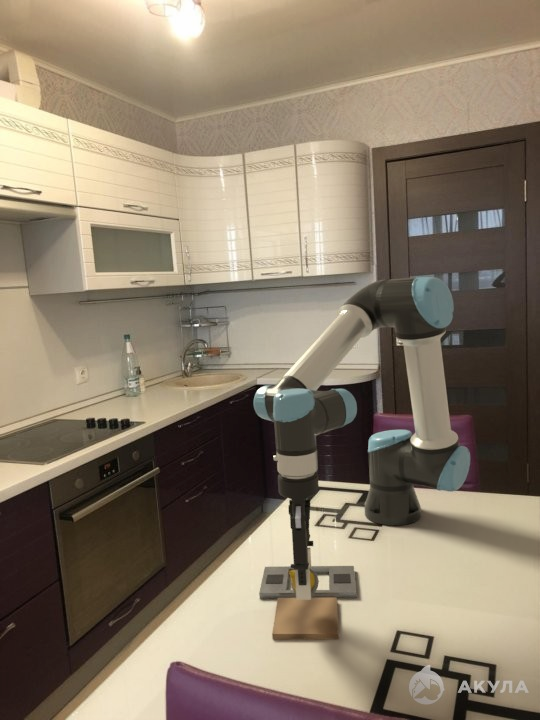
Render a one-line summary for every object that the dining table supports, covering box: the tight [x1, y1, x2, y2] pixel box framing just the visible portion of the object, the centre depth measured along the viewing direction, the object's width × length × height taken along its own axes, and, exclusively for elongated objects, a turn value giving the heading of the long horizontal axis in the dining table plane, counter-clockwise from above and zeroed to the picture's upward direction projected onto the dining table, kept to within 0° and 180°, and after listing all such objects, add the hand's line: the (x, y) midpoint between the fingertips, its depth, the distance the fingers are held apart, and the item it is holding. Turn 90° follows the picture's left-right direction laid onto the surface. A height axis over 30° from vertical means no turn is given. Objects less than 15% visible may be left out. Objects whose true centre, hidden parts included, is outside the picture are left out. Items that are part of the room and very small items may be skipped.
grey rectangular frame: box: [258, 565, 357, 599], centre depth 121 cm, size 20×11×1 cm, turn 84°
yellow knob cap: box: [289, 569, 320, 596], centre depth 107 cm, size 5×5×10 cm
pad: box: [271, 598, 339, 640], centre depth 108 cm, size 12×12×1 cm
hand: (304, 588), depth 108 cm, fingers closed on yellow knob cap, 6 cm apart
